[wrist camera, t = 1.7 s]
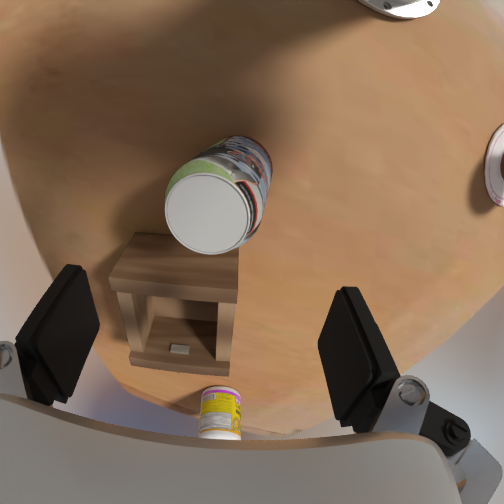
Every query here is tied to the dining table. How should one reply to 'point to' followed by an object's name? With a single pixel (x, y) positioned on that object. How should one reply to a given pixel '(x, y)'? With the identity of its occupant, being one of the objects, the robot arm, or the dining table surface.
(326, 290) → the dining table surface
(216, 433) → the supplement bottle
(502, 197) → the teacup
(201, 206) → the beverage can
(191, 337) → the holder
